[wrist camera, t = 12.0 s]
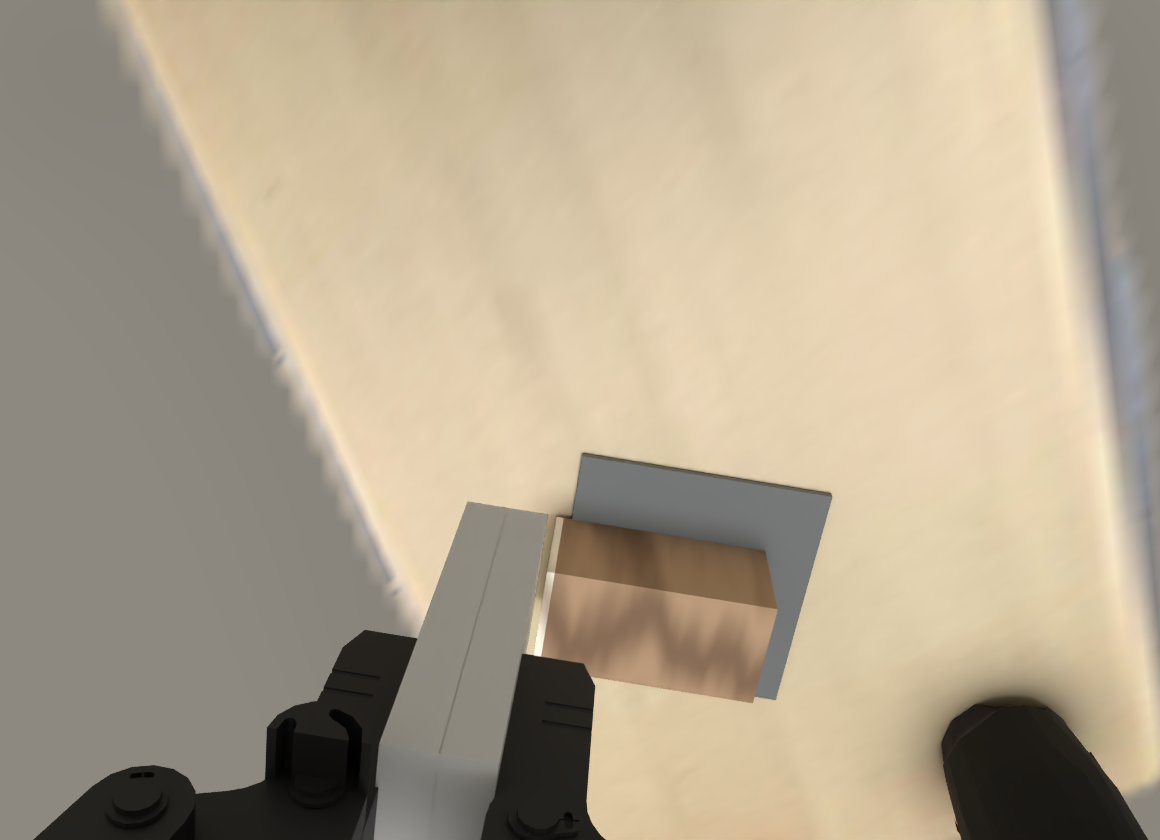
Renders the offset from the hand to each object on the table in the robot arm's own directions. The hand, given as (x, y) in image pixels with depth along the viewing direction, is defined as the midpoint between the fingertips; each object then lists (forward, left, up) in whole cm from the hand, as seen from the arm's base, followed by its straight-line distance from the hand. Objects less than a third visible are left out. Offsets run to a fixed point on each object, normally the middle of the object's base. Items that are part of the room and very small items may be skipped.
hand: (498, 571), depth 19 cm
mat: (+20, +9, -34) cm, 41 cm away
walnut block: (+20, +1, -31) cm, 37 cm away
